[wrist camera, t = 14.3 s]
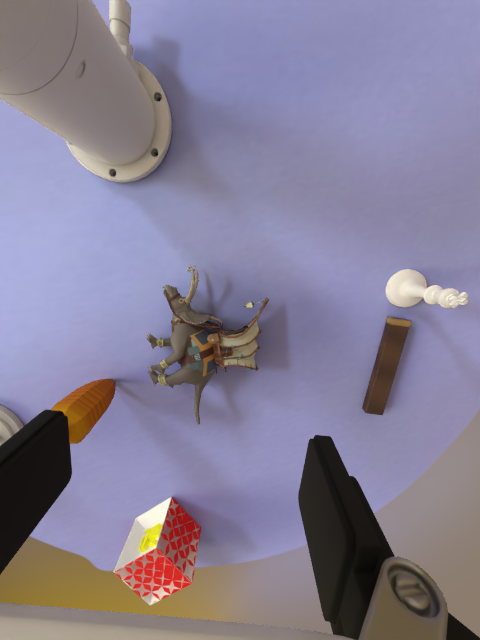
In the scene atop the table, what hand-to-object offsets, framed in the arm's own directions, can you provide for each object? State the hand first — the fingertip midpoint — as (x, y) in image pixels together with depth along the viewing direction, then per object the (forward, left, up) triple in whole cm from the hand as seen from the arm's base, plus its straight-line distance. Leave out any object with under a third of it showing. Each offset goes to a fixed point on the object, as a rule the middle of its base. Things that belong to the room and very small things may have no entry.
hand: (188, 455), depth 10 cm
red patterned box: (+38, -6, -27) cm, 47 cm away
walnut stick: (+5, +22, -27) cm, 35 cm away
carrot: (+13, -16, -27) cm, 34 cm away
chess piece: (-6, +22, -27) cm, 36 cm away
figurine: (+4, -2, -27) cm, 27 cm away
